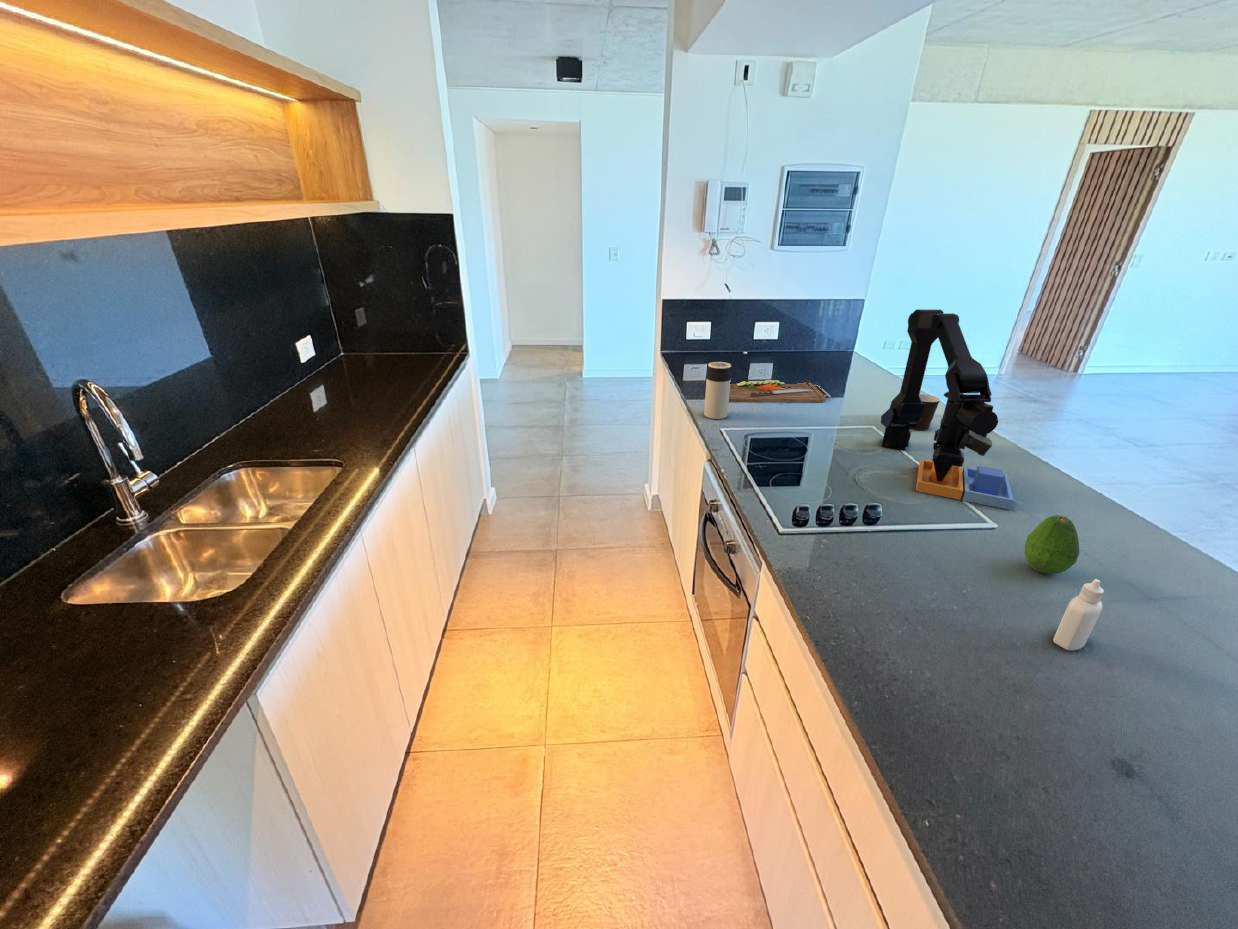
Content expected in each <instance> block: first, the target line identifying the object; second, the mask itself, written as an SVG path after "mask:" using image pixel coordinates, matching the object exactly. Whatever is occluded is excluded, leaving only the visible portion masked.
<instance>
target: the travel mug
mask: <svg viewBox="0 0 1238 929" xmlns="http://www.w3.org/2000/svg"><path fill="white" fill-rule="evenodd" d="M731 367H732V364H731V363H729V362H724V361H712V362H709V363H708V371H707V373H706V381H705V382H706V383H705V394H704V396H705V397H704V410H703V415H704V417H706V418H709V419H711V420H723V419H726V418H727V417H728V414H729V404H730V402H729V393H730V382H731V379H732V373H731V371H730V370H731Z"/></svg>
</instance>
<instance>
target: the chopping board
mask: <svg viewBox="0 0 1238 929" xmlns="http://www.w3.org/2000/svg"><path fill="white" fill-rule="evenodd" d="M810 382H811V381H809V383H808V384H809V385H810V386H809V385H808V384H807V383H806V382H804V383H797V384H785V383H784V382H780V381H779V380H765V381H748V382H746V381H742V382H740V383H736V384H730V393H729V403H803V404H805V403H807V404H809V403H811V404H812V403H813V404H815V403H816V404H818V403H819V404H820V403H825V402H827V397H828V399H829V398H832V396H831V395H830V394H829V393H828V392H827V391H826V390H825V389H823V388H822V387H821V386H820V385H819V384H818V385H819V386H818V385H816V384H813V383H812V382H811V383H810ZM782 387H785V388H782ZM788 387H791V388H788ZM811 387H812V388H813V389H814V390H813V389H812V388H811ZM820 387H821V388H822V389H821V388H820Z"/></svg>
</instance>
